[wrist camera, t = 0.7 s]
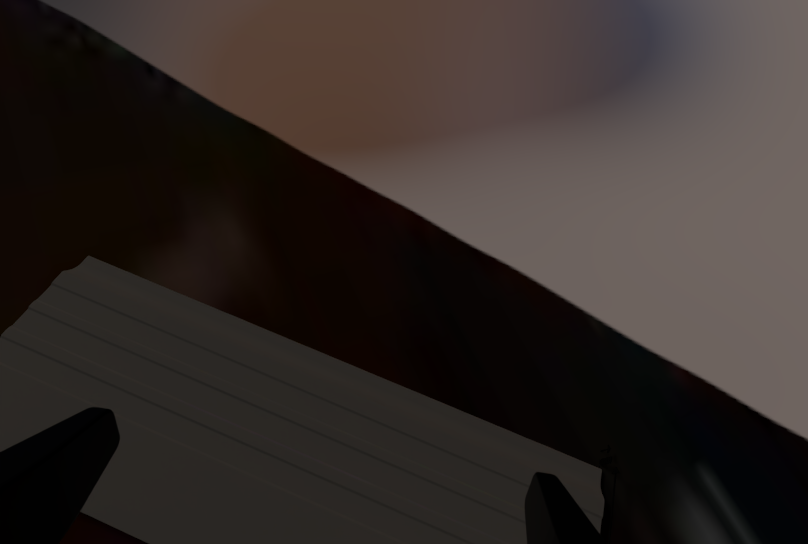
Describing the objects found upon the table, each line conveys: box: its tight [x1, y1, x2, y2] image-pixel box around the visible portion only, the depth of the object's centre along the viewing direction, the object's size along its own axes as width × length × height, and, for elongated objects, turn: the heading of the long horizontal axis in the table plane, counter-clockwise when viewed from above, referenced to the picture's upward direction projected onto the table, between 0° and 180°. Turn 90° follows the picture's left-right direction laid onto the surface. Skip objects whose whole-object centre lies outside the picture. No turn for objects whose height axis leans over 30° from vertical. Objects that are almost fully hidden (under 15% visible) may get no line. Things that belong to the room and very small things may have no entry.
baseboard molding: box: [0, 256, 619, 544], centre depth 21 cm, size 31×3×12 cm
